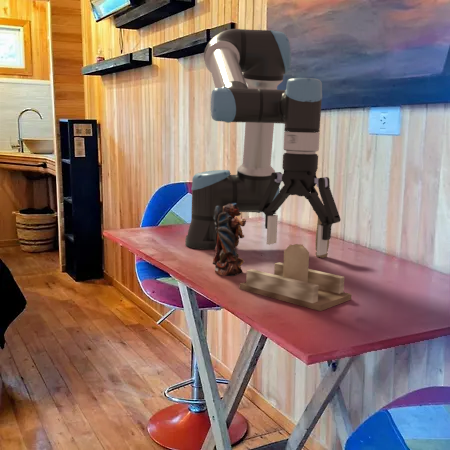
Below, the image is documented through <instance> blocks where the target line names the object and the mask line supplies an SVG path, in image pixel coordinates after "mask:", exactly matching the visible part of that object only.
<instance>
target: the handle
mask: <svg viewBox="0 0 450 450" xmlns="http://www.w3.org/2000/svg"><path fill="white" fill-rule="evenodd" d="M312 210H313V211H314V209H313V208H312ZM316 222H317V223H316V231H315V251H316V252H315V256H316V257H317V258H319V257H320V258H322V259H324V258H327V257H328V252H329V248H330V247H329V246H330V239H329V240H327V254H323V255H320V256H319V255H317V240H318V225H320V224H322V223H321V221H320V219H319V218H318V217H317V221H316Z"/></svg>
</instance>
